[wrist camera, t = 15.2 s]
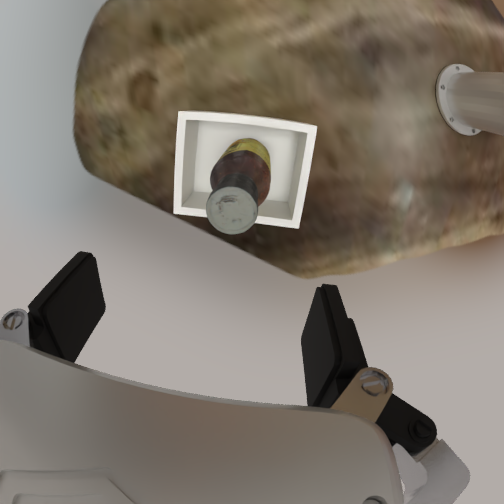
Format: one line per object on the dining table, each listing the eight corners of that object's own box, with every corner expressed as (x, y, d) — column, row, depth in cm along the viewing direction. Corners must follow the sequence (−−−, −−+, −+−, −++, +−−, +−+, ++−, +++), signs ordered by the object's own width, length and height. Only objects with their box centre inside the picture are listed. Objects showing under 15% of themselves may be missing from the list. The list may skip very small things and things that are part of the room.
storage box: (307, 123, 36) (317, 126, 29) (292, 207, 43) (298, 228, 36) (194, 110, 36) (178, 111, 29) (188, 194, 42) (173, 213, 35)
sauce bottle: (235, 130, 36) (208, 150, 19) (277, 147, 37) (289, 183, 20) (218, 172, 39) (181, 227, 22) (258, 188, 40) (254, 255, 23)
